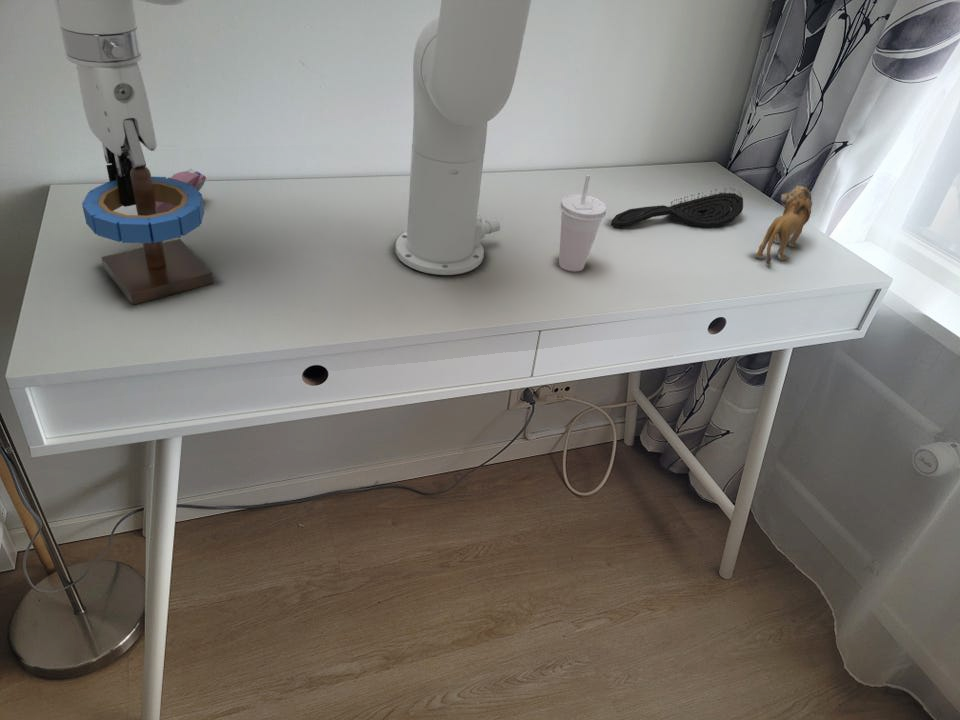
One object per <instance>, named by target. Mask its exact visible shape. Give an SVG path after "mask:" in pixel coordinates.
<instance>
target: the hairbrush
mask: <svg viewBox="0 0 960 720" xmlns="http://www.w3.org/2000/svg"><path fill="white" fill-rule="evenodd" d="M717 190H718V189H717V188H715V189H714V191H715V192H714V194H713V193H712V192H713V191H712V190H711V191H710V194H709V195H706V194H705V195H704V196H703V194H704V192H702V195H701V197H700V192H698V193H697V194H698V196H697V197H694V199H690V200H687V199H686V198H689V196H688V195H687V196H684V197H683V199H682V197H680V198H678V199H677V198H676V199H674V200H672V201H671V202H670V206H667V205H664V204H662V205H651V206H643V207H637V208H635V207H634V208H629V209H627V210H624V211H622V212H620V213H617V214H616V215H615V216H614V217H613V218H612V219H611V223H610V225H611V226H612V227H613V228H614V229H615V228H628V227H631V226H635V225H637V224H640V223H643V222H645V221H647V220H649V219H651V218H656V217H661V216H668V215H669V216H670V217H672V218H674V219H676V220H677V221H680V222H682V223H684V224H688V225H690V226H693V227H698V228H705V229H709V228H717V227H723V226H725V225H727V224H730V223H732V222H733V221H734V220H735V219H736V218H738V216H740V214H741V213H742V212H743V210H744V197H743V196H742V193H741V192H740V191H737V194H736V192H735V191H736V189H733V192H731V191H729V192H726V191H727V188H724V191H720V192H719V193H717ZM730 190H732V187H730ZM693 196H694V194H690V197H693ZM682 200H683V201H682ZM677 201H679V202H678V203H677ZM675 202H676V203H675ZM673 203H674V204H673Z"/></svg>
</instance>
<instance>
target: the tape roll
mask: <svg viewBox="0 0 960 720" xmlns="http://www.w3.org/2000/svg"><path fill="white" fill-rule="evenodd" d="M151 178H152V184H153V190H154V196H155V202H164V203H168V204H171V205H174V206H177V207H175V208H173V209H171V210H170V211H168V212H163V213H158V214H153V215H148V216H141V215H138V214H136V215H135V214H125V213H121V212H117V211H115V210H117V209H119V208H121V207H124V206H123V205H122V204H121V202H120V197H119V192H118V186H117V181H116V180H115V181H111V182H110V181H107V182H105V183H102V184H101V185H98V186H97V187H95V188H92V189H91V190H90V189H89V191H88V192H87V194H86V195H85V197H84V199H83V200H82V203H81V205H82V206H81V207H82V210H83V211H82V212H83V215H84V219H85V220H84V221H85V224H86V225H87V226H88V228H90V230H91V231H92V232H93V234H95V235H96V236H98V237H101V238H104V239H108V240H111V241H114V242H118V243H123V244H143V243H152V241H153V242H154V243H156V242H161V241H162V242H166V241H171V240H175V239H180V238H181V237H185V236H186V235H187V234H189V233H191V232H193V231H194V230H196V229H197V228H199V227H200V226H201V225H202V223H203V219H204V215H205V207H204V199H203V194H202V193H201V191H200V190H199V191H198V190H197V189H196V188H195V187H194V186H192V185H191V184H190V185H189V183H186V182H182V181H179V180H175V179H172V178H171V177H166V176H151Z"/></svg>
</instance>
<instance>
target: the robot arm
mask: <svg viewBox="0 0 960 720" xmlns="http://www.w3.org/2000/svg"><path fill="white" fill-rule="evenodd" d="M187 1H188V0H139V2H145V3H149V4H152V5H153V4H154V5H159V6H178V5H181V4H183V3H185V2H187ZM531 2H532V0H441V1H440V7H439V16H438V17H435V18H433V19H432V20H431V21H429V22H428V23H427V24H426V26H425V27H424V28H423V29H422V30H421V32H420V34H419V35H418V38H417V40H416V43H415V47H414V52H413V59H412V62H413V63H412V84H413V85H412V86H413V117H412V118H413V122H412V142H411V153H410V154H411V157H410V175H409V191H408V192H409V193H408V211H407V227H406V228H407V229H406V231H405V232H402V234H400V235H399V236H398V238H396V240H395V254H396V257H397V258H398V259H399V260H400V261H401V262H402V264H404V265H406V266H407V267H409V268H411V269H413V270H415V271H417V272H422V273H425V274H430V275H436V276H454V275H460V274H465V273H468V272H471V271H472V270H475V269H476V268H478V267H479V266H480V265H481V264H482V262H483V260H484V254H485V250H484V246H483V244H482V243H481V239H484V237H485V235H489V234H490V235H491V234H494V233H496V232H499V231H500V230H501V223H500V221H499V220H498V219H497V218H491V219H488V220H485V221H483V218H482V217H481V216H480V215H478V212H479V204H480V203H479V202H480V194H481V186H482V179H483V167H484V159H485V153H486V144H487V136H488V135H487V134H488V123H489V122H490V121H491V120H493V119H494V118H495V117H497V116H498V114H499V113H500V112H501V111H502V110H503V109H504V107H505V105H506V104H507V102H508V101H509V98H510V96H511V93H512V91H513V87H514V83H515V80H516V75H517V70H518V66H519V61H520V56H521V52H522V48H523V42H524V37H525V33H526V27H527V22H528V18H529V13H530V8H531ZM54 4H55V9H56V13H57V18H58V23H59V27H60V32H61V37H62V43H63V47H64V51H65V56H66V59H67V61H69V62H70V63H73V64H76V71H77V76H78V82H79V88H80V95H81V99H82V105H83V109H84V114H85V118H86V121H87V124H88V127H89V129H90V131H91V132H92V134H93V135H94V136H95V137H96V139H98V141H100V142H101V146H102V150H103V155H104V160H105V162H106V165H105V166H106V171H107V175H108V176H107V177H108V182H111V181H115V180H116V181H117V186H118V192H119V197H120V202H121V204H122V205H123V206H122V207H124V208H125V207H132V206H136V204H135V198H134V193H133V187H132V182H131V177H130V171H131V169H132V168H139V167H147V163H146V159H145V156H144V153H143V149H142V145H143V146H144V147H145V148H146V149H148V150H149V151H151V152H153V151H156V150H157V148H158V142H157V137H156V133H155V128H154V123H153V122H154V121H153V117H152V113H151V107H150V103H149V99H148V98H149V97H148V95H147V90H146V86H145V83H144V79H143V75H142V72H141V69H140V66H139V62H140V61H141V60H142V51H141V46H140V39H139V32H138V27H137V21H136V15H135V8H134V1H133V0H54ZM141 144H142V145H141Z"/></svg>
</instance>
